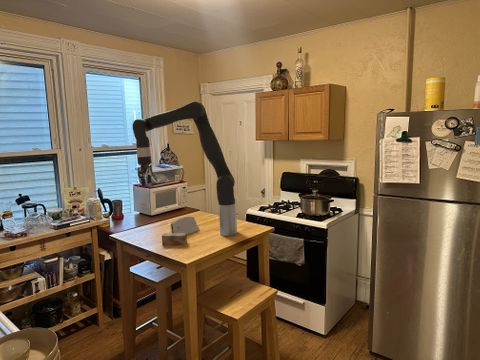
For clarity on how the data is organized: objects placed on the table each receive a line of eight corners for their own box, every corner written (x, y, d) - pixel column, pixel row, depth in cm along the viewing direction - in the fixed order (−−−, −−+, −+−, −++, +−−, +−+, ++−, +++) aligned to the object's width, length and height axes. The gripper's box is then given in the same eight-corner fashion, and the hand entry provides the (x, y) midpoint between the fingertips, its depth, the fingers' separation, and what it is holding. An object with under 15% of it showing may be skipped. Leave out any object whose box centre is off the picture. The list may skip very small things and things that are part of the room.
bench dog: (187, 242, 170) (186, 233, 169) (185, 245, 166) (184, 235, 165) (165, 242, 171) (164, 233, 171) (162, 245, 167) (161, 235, 167)
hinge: (176, 237, 178) (172, 220, 179) (172, 238, 182) (167, 221, 182) (200, 229, 190) (195, 213, 191) (195, 231, 193) (191, 215, 194)
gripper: (145, 156, 172) (148, 186, 174) (155, 154, 186) (157, 182, 188) (131, 157, 172) (134, 187, 175) (142, 154, 186) (145, 182, 189)
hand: (146, 184), depth 181 cm, fingers open, 8 cm apart
